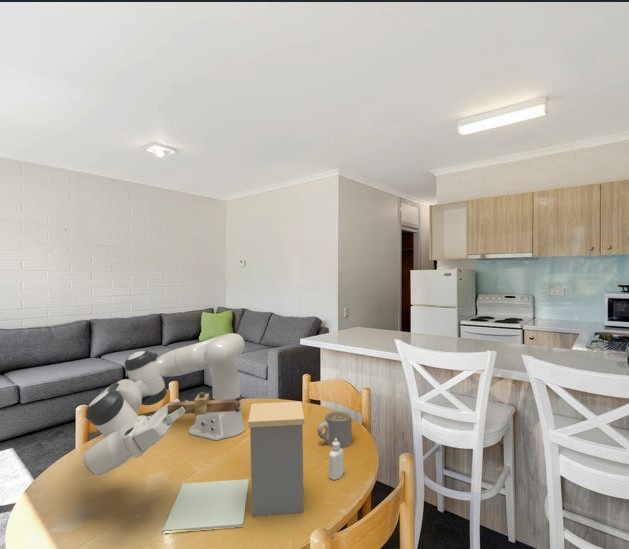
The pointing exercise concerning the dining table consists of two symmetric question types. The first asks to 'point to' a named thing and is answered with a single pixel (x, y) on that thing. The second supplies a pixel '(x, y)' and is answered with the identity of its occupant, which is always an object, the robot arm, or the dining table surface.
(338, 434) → the coffee mug
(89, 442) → the dining table surface
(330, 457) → the eye dropper bottle
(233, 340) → the robot arm
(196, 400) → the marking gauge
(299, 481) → the stand
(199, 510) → the sage mat
